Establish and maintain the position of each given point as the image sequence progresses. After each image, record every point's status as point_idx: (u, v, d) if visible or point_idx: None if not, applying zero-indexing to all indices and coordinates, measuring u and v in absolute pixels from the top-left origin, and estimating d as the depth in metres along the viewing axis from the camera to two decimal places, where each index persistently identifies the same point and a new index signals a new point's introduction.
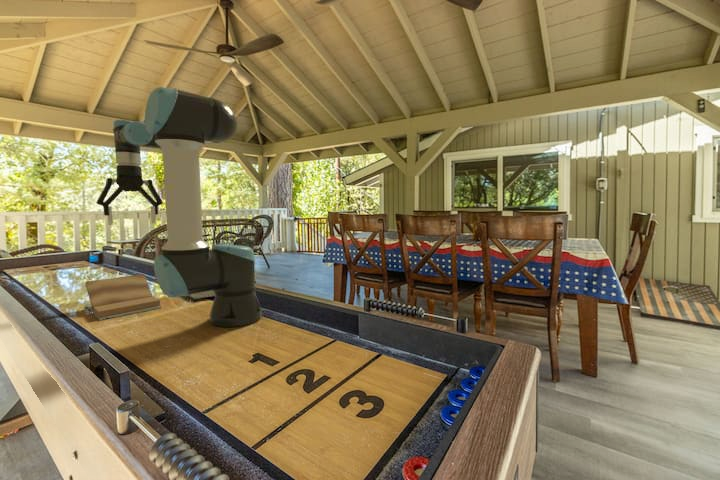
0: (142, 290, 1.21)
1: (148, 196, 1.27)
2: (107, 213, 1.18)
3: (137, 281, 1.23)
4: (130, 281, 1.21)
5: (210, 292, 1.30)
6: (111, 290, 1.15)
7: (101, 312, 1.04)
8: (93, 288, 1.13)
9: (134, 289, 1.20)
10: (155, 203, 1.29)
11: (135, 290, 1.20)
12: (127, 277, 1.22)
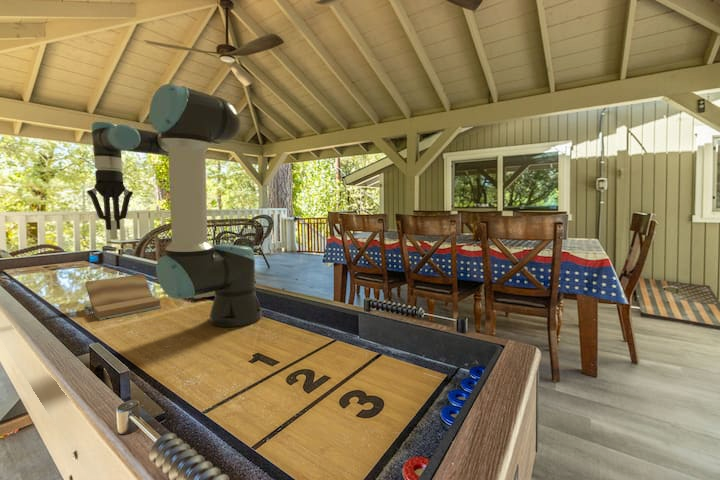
0: (142, 290, 1.21)
1: (117, 207, 1.17)
2: (109, 227, 1.16)
3: (137, 281, 1.23)
4: (130, 281, 1.21)
5: (210, 292, 1.30)
6: (111, 290, 1.15)
7: (101, 312, 1.04)
8: (93, 288, 1.13)
9: (134, 289, 1.20)
10: (118, 217, 1.17)
11: (135, 290, 1.20)
12: (127, 277, 1.22)
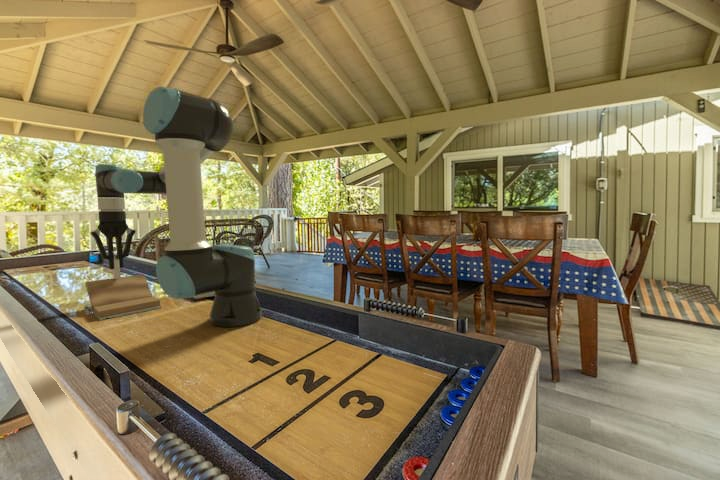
0: (142, 290, 1.21)
1: (120, 246, 1.18)
2: (112, 267, 1.18)
3: (137, 281, 1.23)
4: (130, 281, 1.21)
5: (210, 292, 1.30)
6: (111, 290, 1.15)
7: (101, 312, 1.04)
8: (93, 288, 1.13)
9: (134, 289, 1.20)
10: (121, 256, 1.19)
11: (135, 290, 1.20)
12: (127, 278, 1.22)
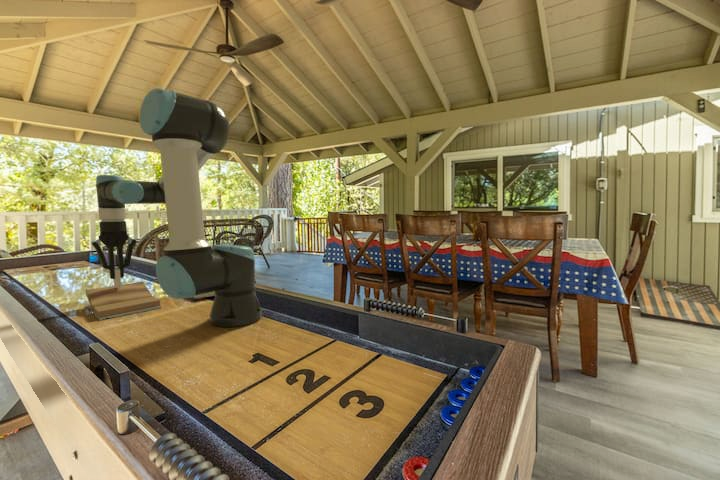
0: (142, 293, 1.21)
1: (121, 256, 1.19)
2: (113, 276, 1.18)
3: (137, 287, 1.24)
4: (129, 287, 1.22)
5: (210, 292, 1.30)
6: (111, 294, 1.16)
7: (101, 312, 1.04)
8: (93, 294, 1.14)
9: (134, 292, 1.20)
10: (121, 266, 1.19)
11: (135, 293, 1.20)
12: (126, 285, 1.23)
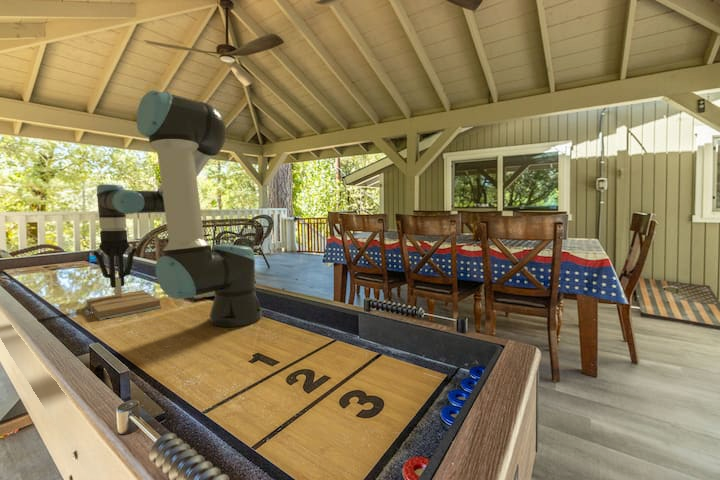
0: (142, 295, 1.21)
1: (121, 265, 1.19)
2: (114, 285, 1.18)
3: (137, 293, 1.24)
4: (130, 294, 1.23)
5: (210, 292, 1.30)
6: (111, 299, 1.17)
7: (101, 312, 1.04)
8: (93, 300, 1.15)
9: (134, 296, 1.21)
10: (122, 274, 1.19)
11: (135, 296, 1.20)
12: (126, 293, 1.24)
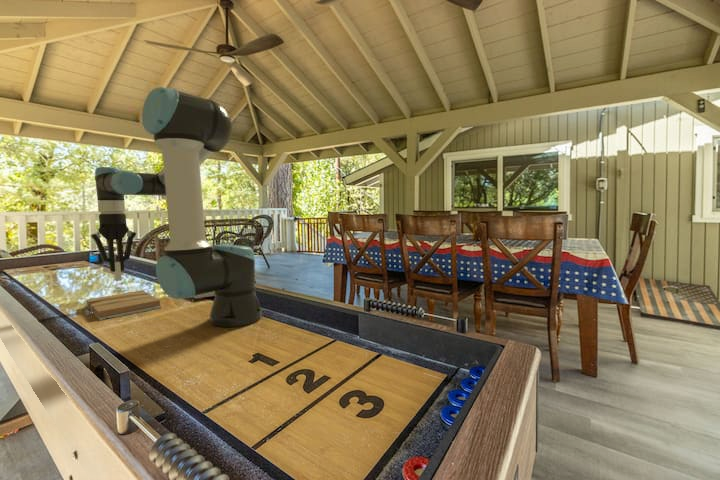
0: (142, 295, 1.21)
1: (120, 249, 1.18)
2: (113, 269, 1.17)
3: (137, 293, 1.24)
4: (130, 294, 1.23)
5: (210, 292, 1.30)
6: (111, 299, 1.17)
7: (101, 312, 1.04)
8: (93, 300, 1.15)
9: (134, 296, 1.21)
10: (121, 258, 1.18)
11: (135, 296, 1.20)
12: (126, 293, 1.24)
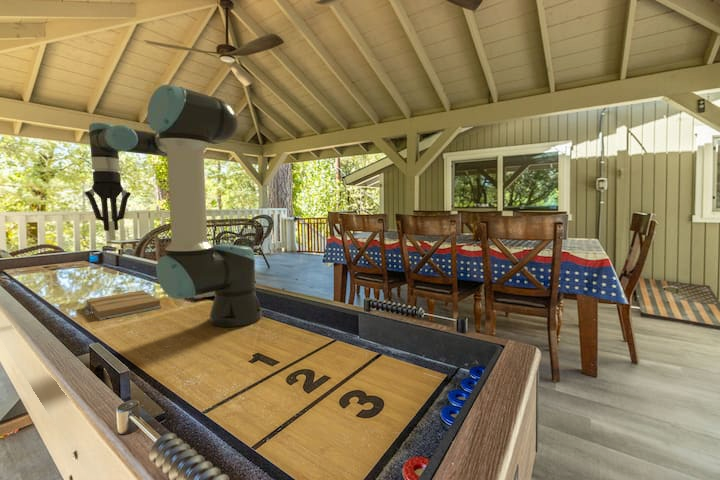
0: (142, 295, 1.21)
1: (115, 208, 1.17)
2: (107, 228, 1.16)
3: (137, 293, 1.24)
4: (130, 294, 1.23)
5: (210, 292, 1.31)
6: (111, 299, 1.17)
7: (101, 312, 1.04)
8: (93, 300, 1.15)
9: (134, 296, 1.21)
10: (115, 218, 1.17)
11: (135, 296, 1.20)
12: (126, 293, 1.24)
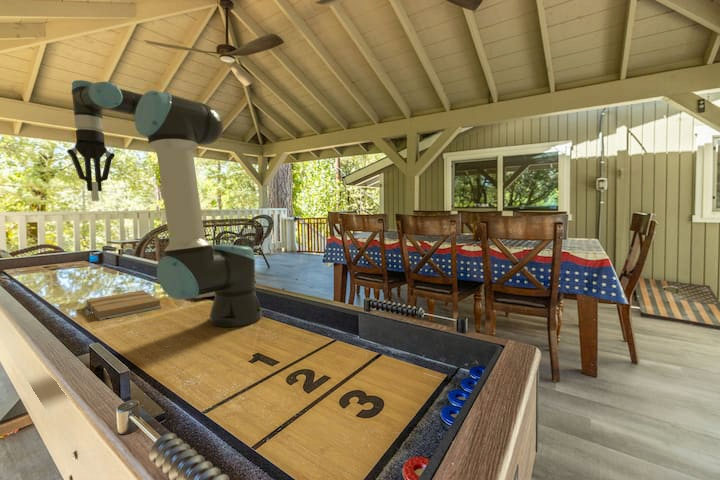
0: (142, 295, 1.21)
1: (98, 168, 1.16)
2: (90, 188, 1.15)
3: (137, 293, 1.24)
4: (130, 294, 1.23)
5: (211, 292, 1.31)
6: (111, 299, 1.17)
7: (101, 312, 1.04)
8: (93, 300, 1.15)
9: (134, 296, 1.21)
10: (99, 178, 1.16)
11: (135, 296, 1.20)
12: (126, 293, 1.24)
